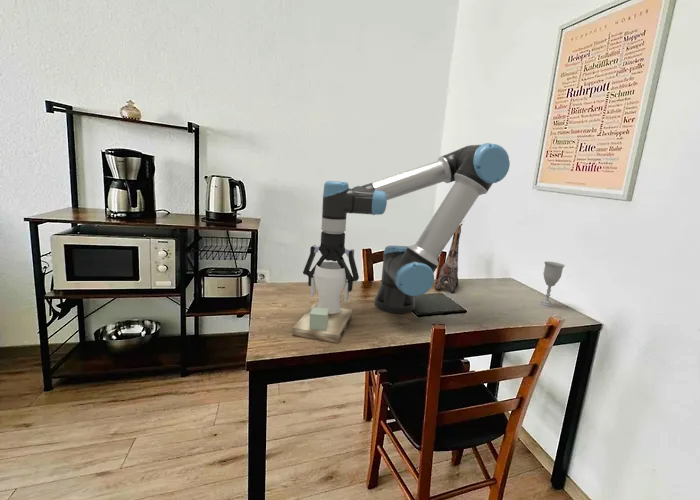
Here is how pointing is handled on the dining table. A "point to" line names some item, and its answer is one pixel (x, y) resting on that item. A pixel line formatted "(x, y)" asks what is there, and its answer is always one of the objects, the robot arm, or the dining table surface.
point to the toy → (451, 264)
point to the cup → (330, 285)
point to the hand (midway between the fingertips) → (329, 298)
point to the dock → (334, 327)
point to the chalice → (551, 279)
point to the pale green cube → (319, 319)
